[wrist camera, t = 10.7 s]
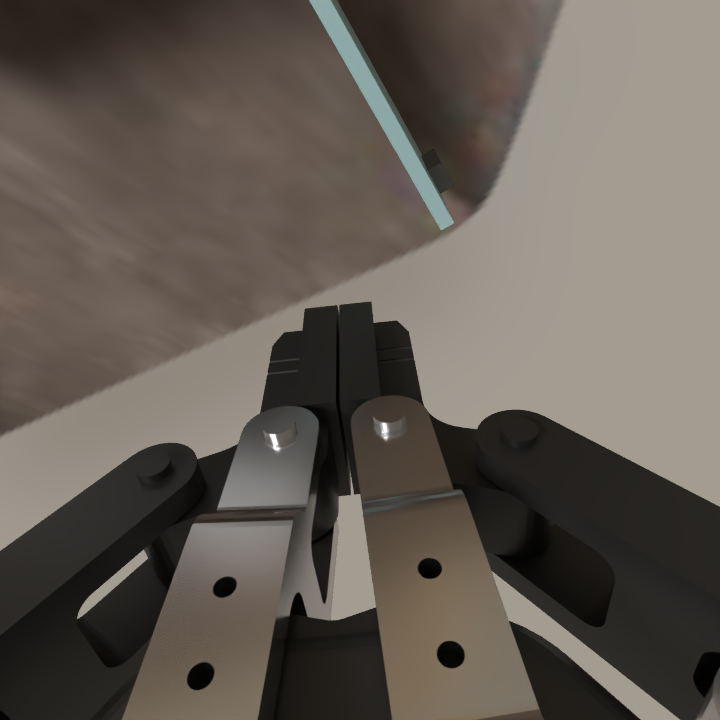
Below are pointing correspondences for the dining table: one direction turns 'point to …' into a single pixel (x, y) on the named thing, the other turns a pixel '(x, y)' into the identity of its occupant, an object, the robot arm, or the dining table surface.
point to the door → (387, 112)
